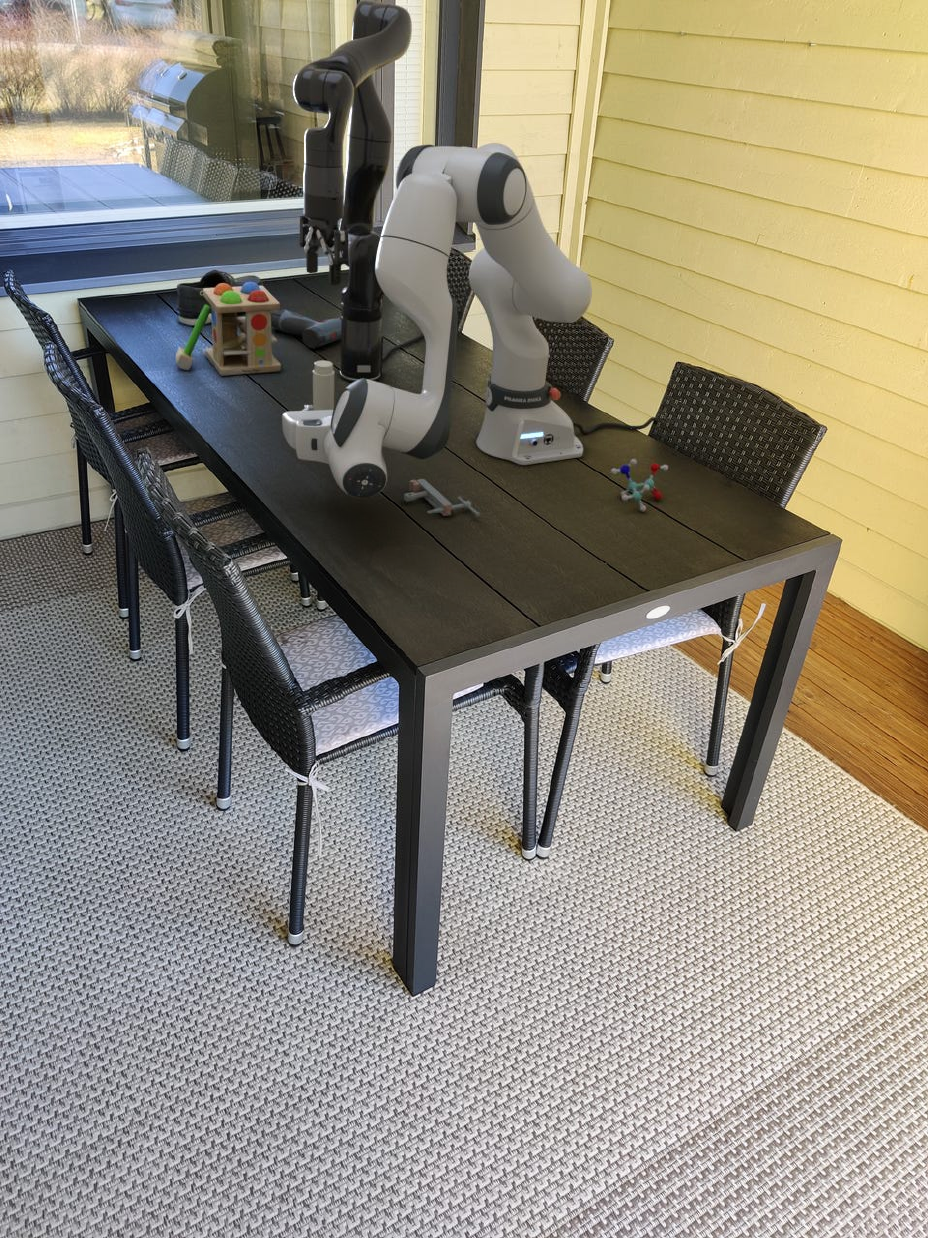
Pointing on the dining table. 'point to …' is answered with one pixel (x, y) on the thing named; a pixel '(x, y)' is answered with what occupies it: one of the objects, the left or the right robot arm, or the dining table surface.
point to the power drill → (307, 327)
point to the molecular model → (633, 485)
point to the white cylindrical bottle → (323, 385)
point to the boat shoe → (193, 297)
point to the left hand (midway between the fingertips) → (323, 278)
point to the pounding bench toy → (229, 347)
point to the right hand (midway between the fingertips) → (334, 407)
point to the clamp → (434, 498)
